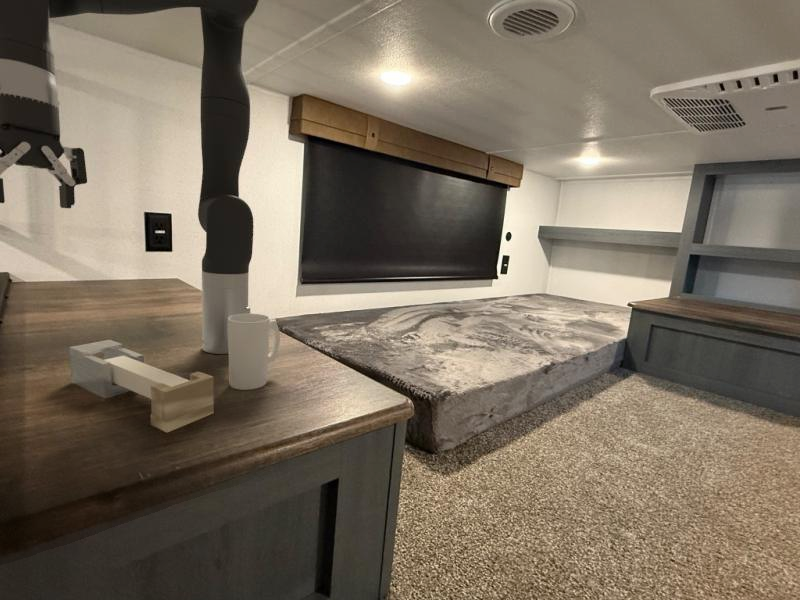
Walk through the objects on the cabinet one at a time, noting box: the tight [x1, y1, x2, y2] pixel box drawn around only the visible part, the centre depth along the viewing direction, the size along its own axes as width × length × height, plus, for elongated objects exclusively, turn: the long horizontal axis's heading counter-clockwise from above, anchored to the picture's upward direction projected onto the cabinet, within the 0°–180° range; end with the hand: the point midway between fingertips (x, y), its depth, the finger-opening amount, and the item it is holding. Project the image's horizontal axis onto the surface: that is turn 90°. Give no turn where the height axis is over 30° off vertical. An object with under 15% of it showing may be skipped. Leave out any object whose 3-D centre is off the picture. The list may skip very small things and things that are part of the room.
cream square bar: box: [105, 356, 190, 400], centre depth 58 cm, size 18×3×3 cm, turn 62°
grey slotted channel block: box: [68, 339, 145, 400], centre depth 63 cm, size 10×6×6 cm, turn 62°
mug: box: [228, 313, 281, 391], centre depth 69 cm, size 10×7×12 cm, turn 146°
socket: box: [150, 371, 215, 433], centre depth 55 cm, size 4×7×6 cm, turn 152°
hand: (34, 205), depth 63 cm, fingers open, 8 cm apart
